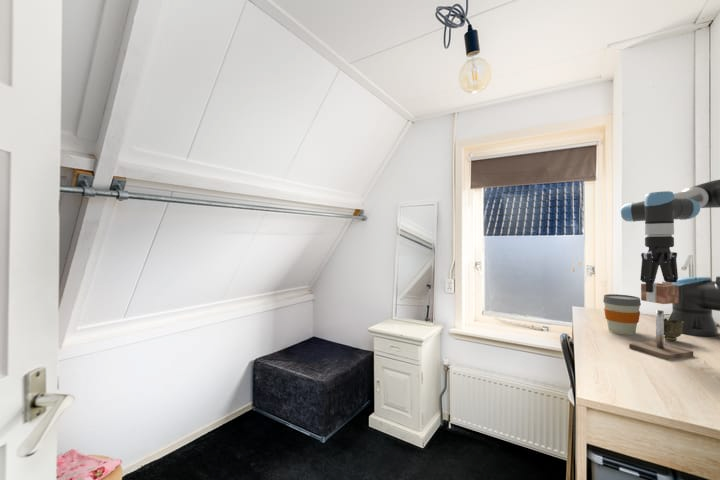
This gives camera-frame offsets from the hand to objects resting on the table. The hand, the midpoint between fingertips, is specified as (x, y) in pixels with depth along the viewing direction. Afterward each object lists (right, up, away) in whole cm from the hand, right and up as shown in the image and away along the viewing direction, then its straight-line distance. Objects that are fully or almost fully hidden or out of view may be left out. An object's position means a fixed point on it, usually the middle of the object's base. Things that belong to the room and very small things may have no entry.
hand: (659, 300), depth 114 cm
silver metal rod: (0, -17, 0) cm, 17 cm away
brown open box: (0, 0, 0) cm, 0 cm away
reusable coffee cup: (+7, -18, +24) cm, 31 cm away
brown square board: (0, -18, 0) cm, 18 cm away
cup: (+16, -18, +12) cm, 27 cm away
